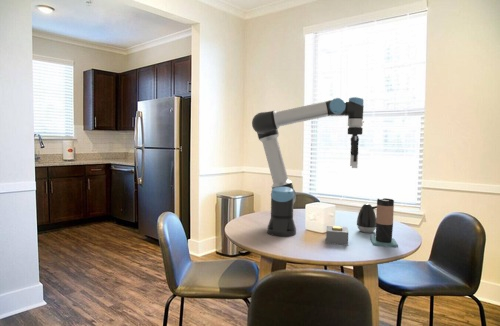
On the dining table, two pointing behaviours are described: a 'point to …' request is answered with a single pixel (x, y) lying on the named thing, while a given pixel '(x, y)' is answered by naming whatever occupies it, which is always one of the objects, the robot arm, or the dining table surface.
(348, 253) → the dining table surface
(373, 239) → the mat
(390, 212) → the travel mug
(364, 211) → the pump dispenser
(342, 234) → the block
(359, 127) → the robot arm
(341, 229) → the plunger
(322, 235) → the dining table surface
